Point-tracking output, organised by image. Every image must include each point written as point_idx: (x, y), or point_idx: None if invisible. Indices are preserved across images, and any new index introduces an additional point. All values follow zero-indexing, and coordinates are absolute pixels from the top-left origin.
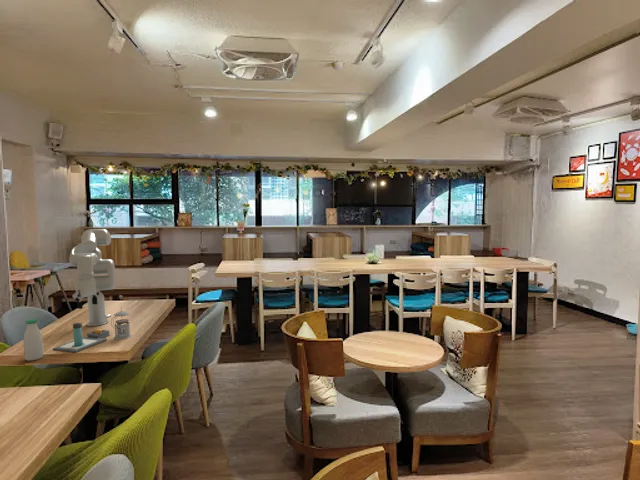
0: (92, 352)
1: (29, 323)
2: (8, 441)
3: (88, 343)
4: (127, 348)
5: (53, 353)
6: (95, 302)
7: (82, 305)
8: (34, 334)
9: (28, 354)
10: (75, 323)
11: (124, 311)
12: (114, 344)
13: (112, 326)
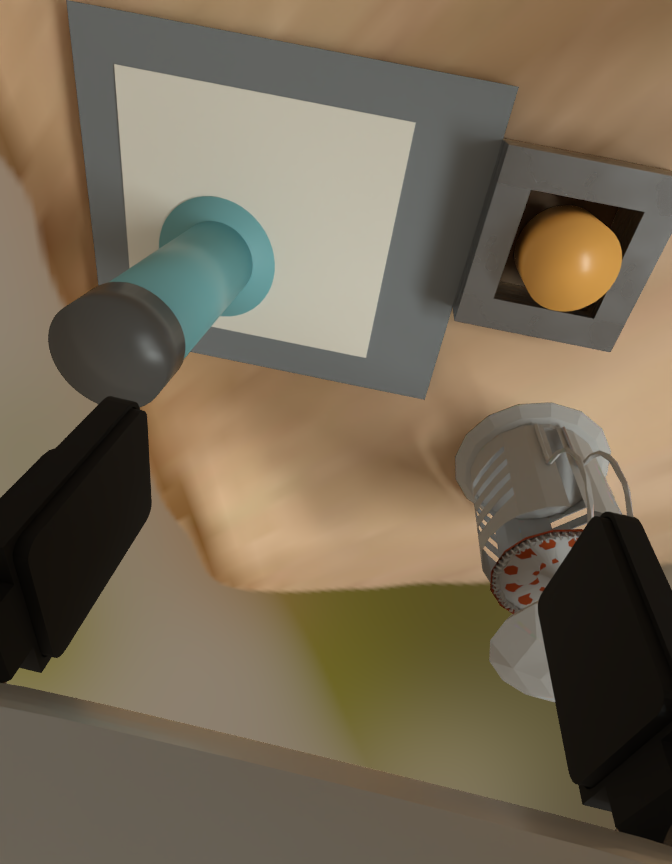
0: (160, 439)
1: None
2: None
3: (280, 321)
4: (279, 586)
5: (15, 117)
6: (552, 634)
7: (113, 567)
8: None
9: None
10: (104, 325)
11: None
12: (337, 491)
13: (563, 449)
